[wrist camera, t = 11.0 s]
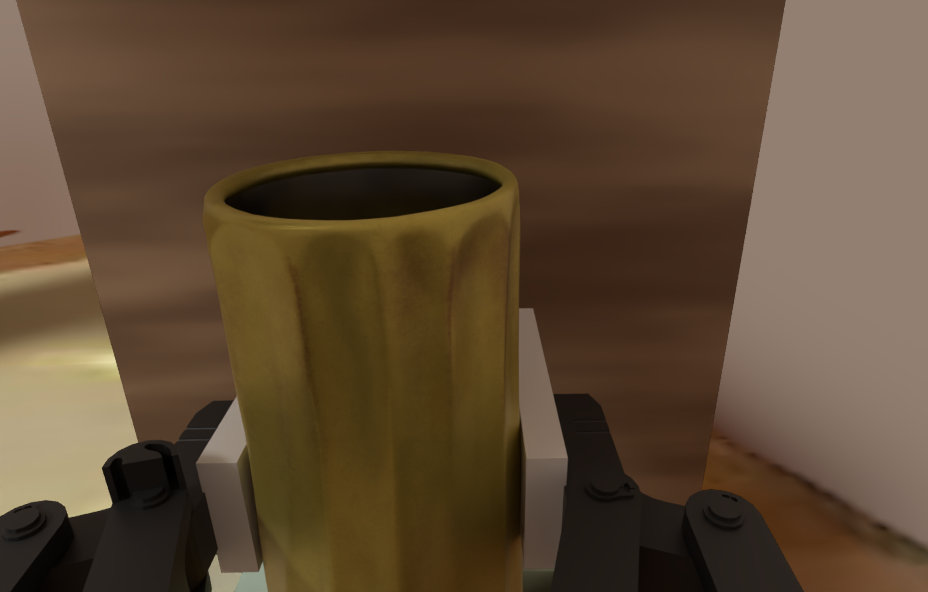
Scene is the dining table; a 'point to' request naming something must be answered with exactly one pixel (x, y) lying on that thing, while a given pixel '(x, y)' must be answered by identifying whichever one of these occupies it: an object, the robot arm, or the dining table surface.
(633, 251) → the board
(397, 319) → the vase
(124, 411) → the dining table surface
